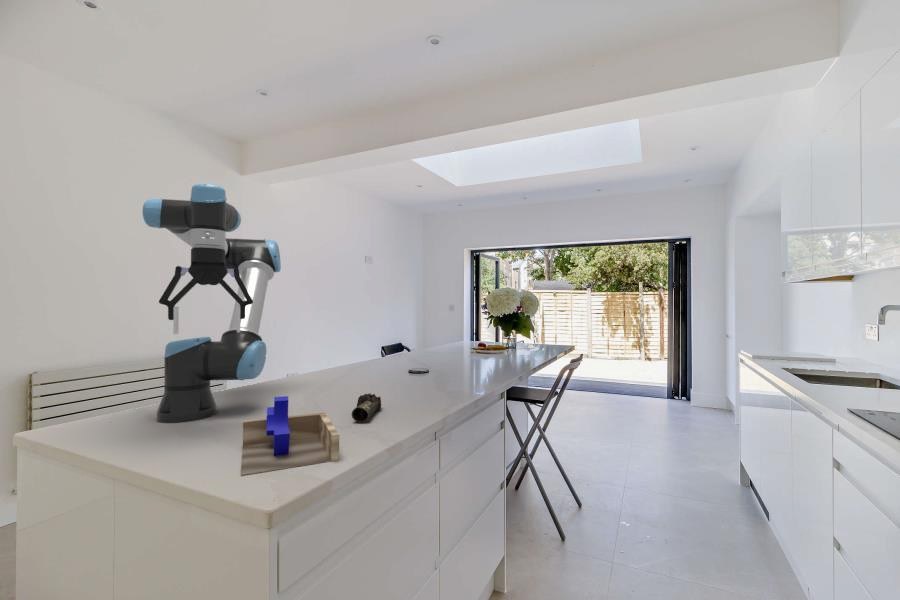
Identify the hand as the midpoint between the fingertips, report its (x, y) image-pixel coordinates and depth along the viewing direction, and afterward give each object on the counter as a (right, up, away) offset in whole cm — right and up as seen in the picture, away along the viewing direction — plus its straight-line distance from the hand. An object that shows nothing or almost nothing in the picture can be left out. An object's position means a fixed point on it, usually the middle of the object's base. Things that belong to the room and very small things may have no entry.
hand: (208, 332), depth 106 cm
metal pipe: (+36, -29, +13) cm, 48 cm away
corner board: (+25, -26, -12) cm, 38 cm away
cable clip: (+21, -23, -10) cm, 32 cm away
